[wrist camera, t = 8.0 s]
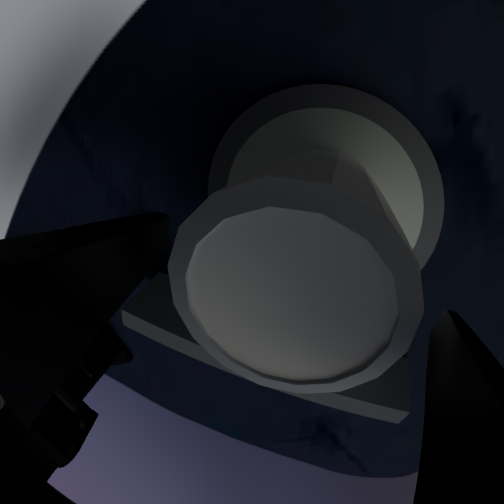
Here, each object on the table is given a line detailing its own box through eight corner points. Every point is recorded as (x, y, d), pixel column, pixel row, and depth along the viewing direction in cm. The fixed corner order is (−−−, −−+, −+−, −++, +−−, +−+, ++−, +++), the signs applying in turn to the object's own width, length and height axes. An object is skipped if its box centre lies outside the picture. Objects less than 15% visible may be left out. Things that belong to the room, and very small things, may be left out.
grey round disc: (282, 328, 18) (280, 334, 18) (171, 163, 15) (166, 165, 15) (468, 261, 13) (471, 267, 12) (369, 40, 10) (369, 38, 9)
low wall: (408, 358, 16) (409, 412, 13) (398, 370, 17) (398, 423, 14) (159, 271, 19) (121, 309, 16) (159, 286, 20) (123, 324, 16)
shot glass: (394, 130, 11) (435, 169, 5) (397, 279, 14) (405, 400, 8) (233, 144, 13) (134, 194, 8) (260, 279, 16) (202, 383, 10)
